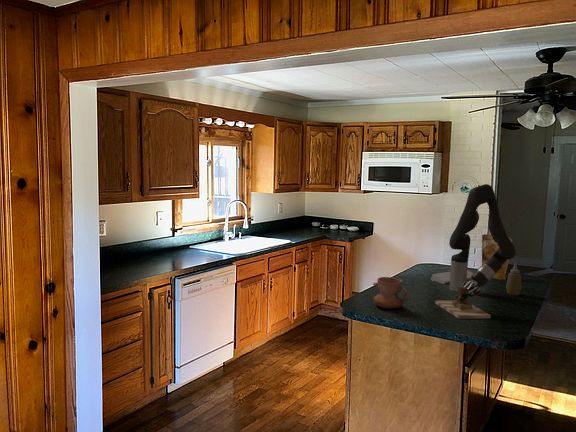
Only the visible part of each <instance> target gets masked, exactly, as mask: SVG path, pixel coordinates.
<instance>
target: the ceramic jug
mask: <svg viewBox="0 0 576 432" xmlns="http://www.w3.org/2000/svg"><path fill="white" fill-rule="evenodd" d="M376 281H377V282H373V283H372V285H373V286H376V287H377V288H378V289H379V293H378V294H377V295H375V296H373V297H372V298H373V299H372V300H373V303H374V304H375V305H376V306H377V307H378V308H381V309H385V310H395V309H400V308H402V306H403V305H404V304H405V301H406V300H407V298H408V296H409V295H408V294H409V292H408V289H406V288H405V287H402V283H403V280H402V279H400V278H397V277H393V276H392V277H391V276H381V277H377V280H376ZM401 291H403V292H404V296H403V299H402V298H401V297H400V296H399V295H398V294H399V293H400V292H401Z"/></svg>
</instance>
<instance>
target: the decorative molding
mask: <svg viewBox="0 0 576 432" xmlns="http://www.w3.org/2000/svg"><path fill="white" fill-rule="evenodd" d="M450 272H451V271H446V272H439V273H438V272H437V273H433V274H431V275H432V276H431V278H430V281H431V280H432V282H434V281H435V282H437V283H439V284H442V285H447V284H450ZM474 273H475V272H472V271H471V270H468V269H467V281H470V280H471V279H472V278H471V276H472V275H473V274H474Z"/></svg>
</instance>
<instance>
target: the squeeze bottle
mask: <svg viewBox="0 0 576 432" xmlns="http://www.w3.org/2000/svg"><path fill="white" fill-rule="evenodd" d="M520 271H521V270H520V269H518V263H516V262H515V263H514V264H513V267H512V268H510V272H508V275H507V281H506V285H505V288H506V293H507V294H508V295H510V296H519V295H520V293H521V291H522V275H521V273H520Z"/></svg>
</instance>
